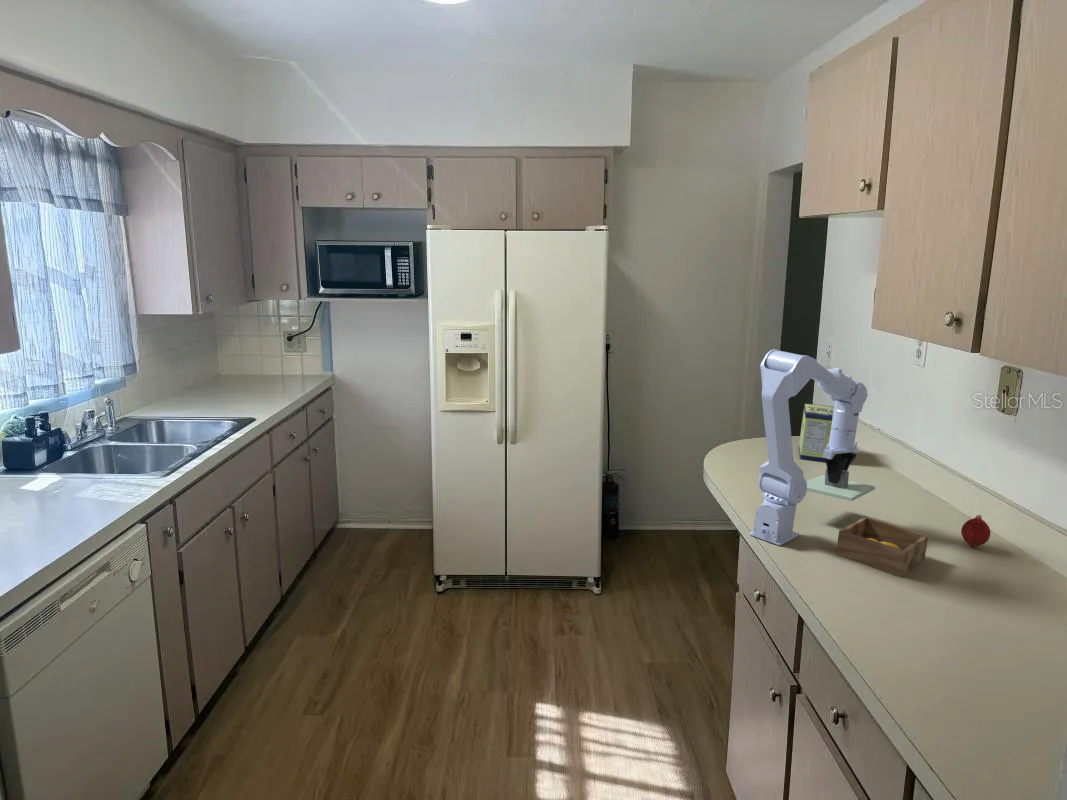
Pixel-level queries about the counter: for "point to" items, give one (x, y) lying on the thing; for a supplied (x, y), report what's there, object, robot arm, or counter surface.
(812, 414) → the protein box
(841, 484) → the lid
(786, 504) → the robot arm
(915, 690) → the counter surface
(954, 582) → the counter surface
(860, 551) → the box
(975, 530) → the onion
